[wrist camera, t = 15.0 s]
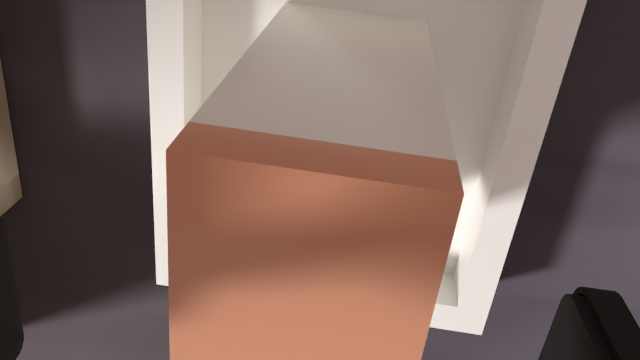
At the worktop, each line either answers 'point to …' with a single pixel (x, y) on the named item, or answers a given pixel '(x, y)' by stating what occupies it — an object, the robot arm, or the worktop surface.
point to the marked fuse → (314, 196)
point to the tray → (458, 93)
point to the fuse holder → (7, 156)
